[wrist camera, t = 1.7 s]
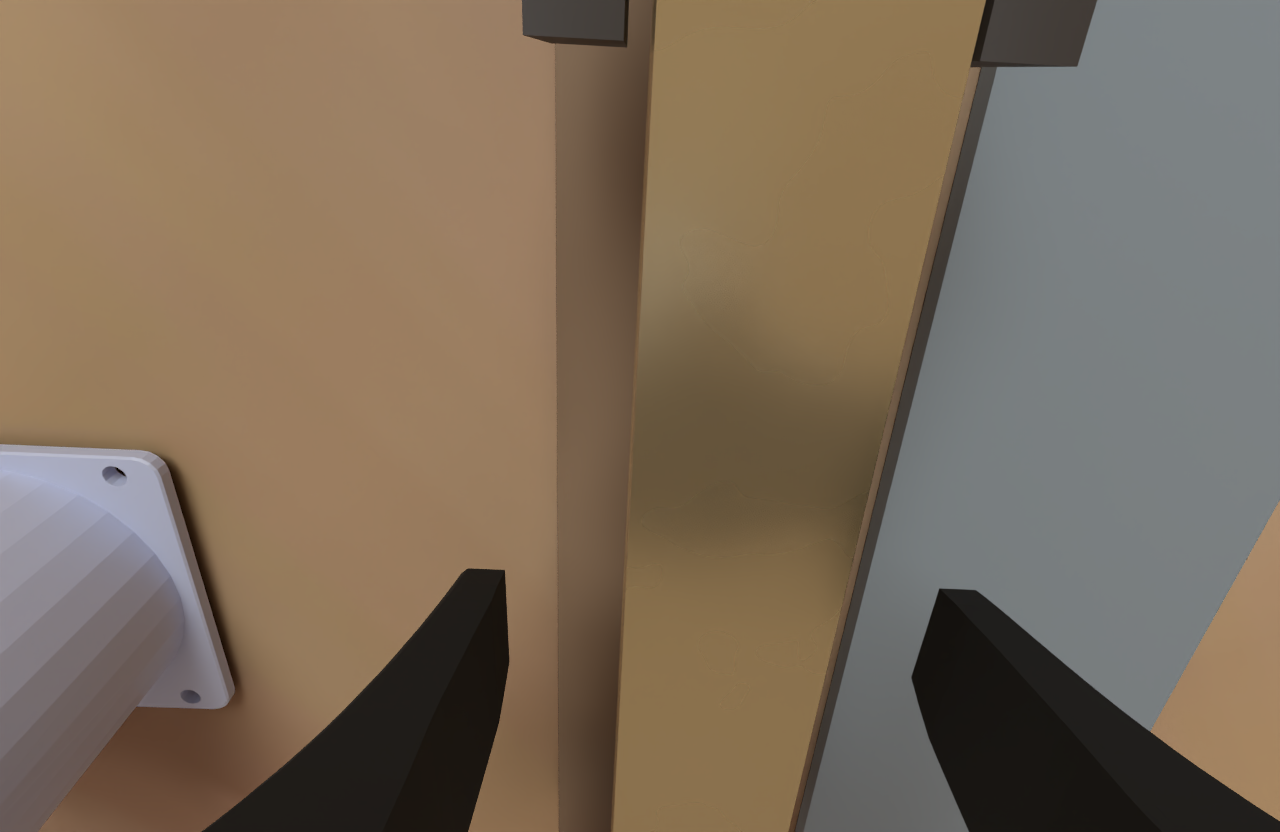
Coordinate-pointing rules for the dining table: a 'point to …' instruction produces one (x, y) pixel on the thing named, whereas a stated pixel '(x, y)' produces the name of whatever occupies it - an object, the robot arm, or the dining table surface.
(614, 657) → the rail stand
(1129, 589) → the mat
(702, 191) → the rail
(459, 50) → the dining table surface
